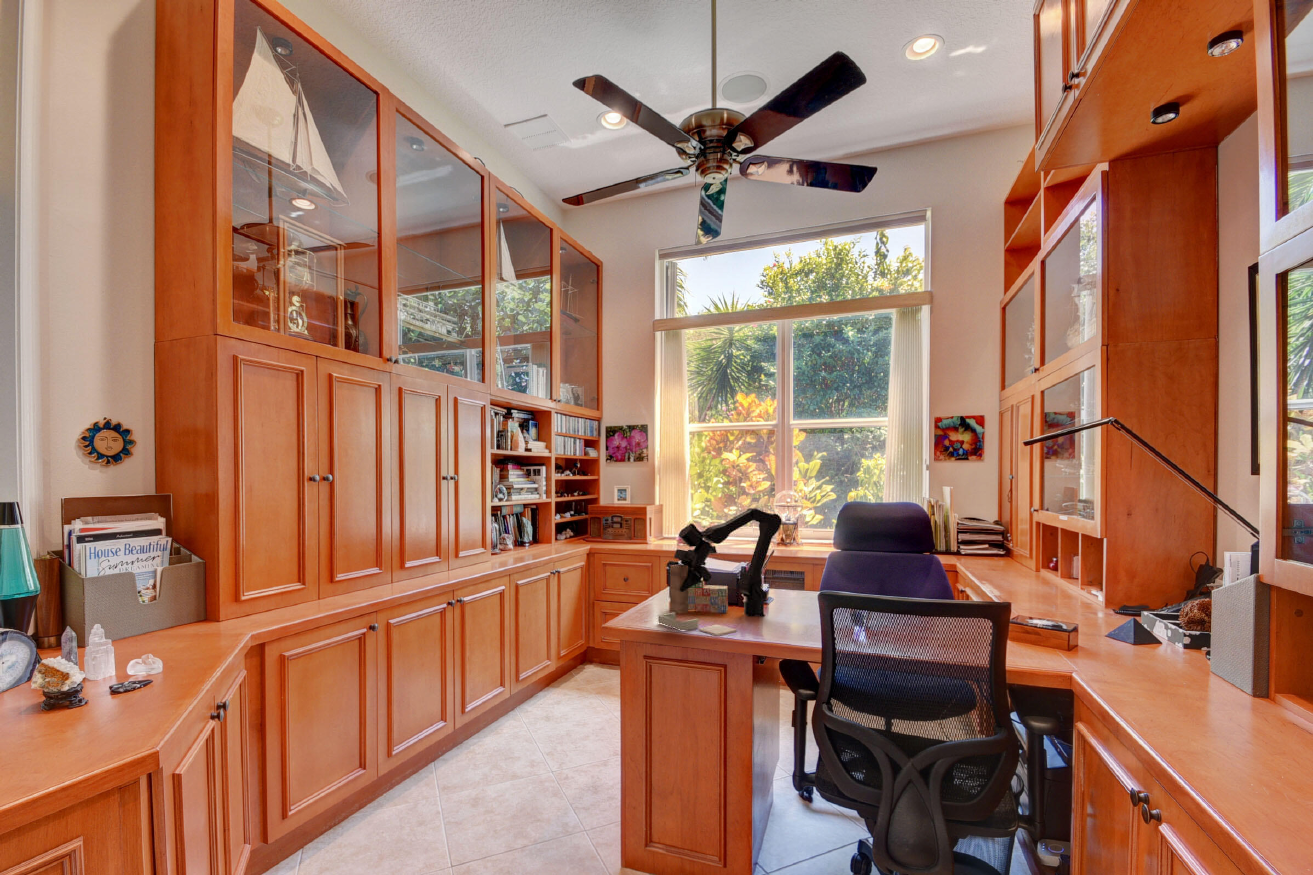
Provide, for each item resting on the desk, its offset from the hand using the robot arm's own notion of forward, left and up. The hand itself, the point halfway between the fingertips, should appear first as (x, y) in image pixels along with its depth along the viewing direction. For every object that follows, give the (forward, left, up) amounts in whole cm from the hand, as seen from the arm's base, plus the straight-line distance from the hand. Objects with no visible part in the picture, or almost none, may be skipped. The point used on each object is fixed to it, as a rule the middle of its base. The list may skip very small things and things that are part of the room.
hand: (676, 590), depth 200 cm
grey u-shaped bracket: (-1, -1, -12) cm, 13 cm away
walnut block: (-1, -1, -8) cm, 8 cm away
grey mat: (-13, +7, -12) cm, 20 cm away
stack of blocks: (-12, -24, -13) cm, 30 cm away
